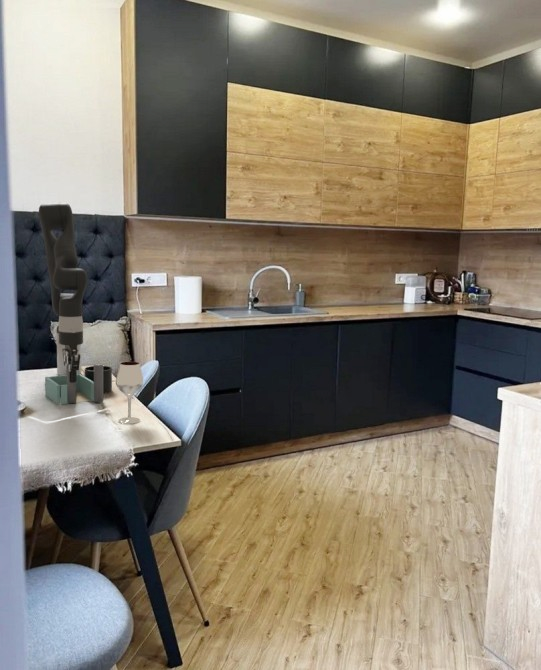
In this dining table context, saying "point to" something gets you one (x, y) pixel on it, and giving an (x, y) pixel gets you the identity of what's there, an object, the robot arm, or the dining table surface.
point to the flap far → (97, 384)
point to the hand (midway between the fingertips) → (71, 380)
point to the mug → (106, 377)
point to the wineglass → (129, 385)
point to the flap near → (68, 390)
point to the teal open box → (55, 381)
